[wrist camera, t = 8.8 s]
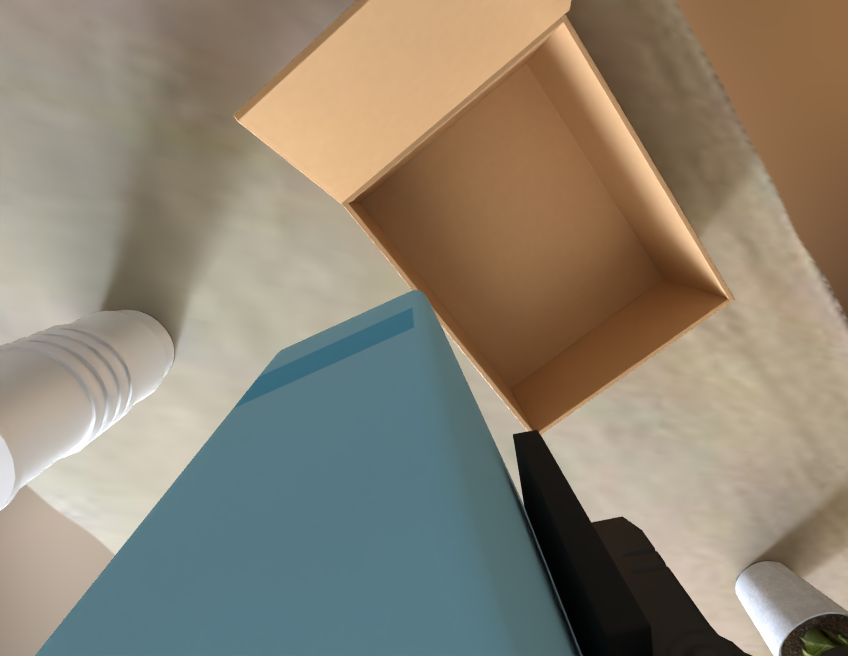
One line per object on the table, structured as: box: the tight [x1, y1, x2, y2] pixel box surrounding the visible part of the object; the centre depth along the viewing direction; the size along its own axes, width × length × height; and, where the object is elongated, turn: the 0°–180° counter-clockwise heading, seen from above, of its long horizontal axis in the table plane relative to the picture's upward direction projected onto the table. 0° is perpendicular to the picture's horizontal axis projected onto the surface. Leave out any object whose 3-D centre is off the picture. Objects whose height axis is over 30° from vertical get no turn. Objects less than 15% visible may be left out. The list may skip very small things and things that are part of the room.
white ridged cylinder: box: [0, 310, 174, 510], centre depth 26 cm, size 7×7×15 cm
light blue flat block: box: [35, 290, 582, 656], centre depth 10 cm, size 12×4×12 cm, turn 24°
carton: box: [342, 14, 734, 435], centre depth 29 cm, size 19×15×7 cm
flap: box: [234, 0, 571, 203], centre depth 18 cm, size 9×14×1 cm
